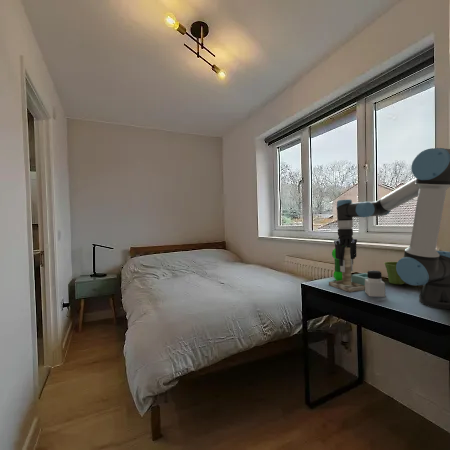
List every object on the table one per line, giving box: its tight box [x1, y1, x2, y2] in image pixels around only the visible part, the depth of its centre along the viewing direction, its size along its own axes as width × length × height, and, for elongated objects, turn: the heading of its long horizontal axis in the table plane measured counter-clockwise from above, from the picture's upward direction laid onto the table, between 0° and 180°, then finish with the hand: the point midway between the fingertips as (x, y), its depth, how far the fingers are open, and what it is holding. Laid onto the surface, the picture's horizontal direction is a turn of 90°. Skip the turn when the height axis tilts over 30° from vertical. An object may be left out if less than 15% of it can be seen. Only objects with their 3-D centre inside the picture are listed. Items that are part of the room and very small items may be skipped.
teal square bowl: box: [351, 272, 368, 285], centre depth 150 cm, size 10×10×6 cm
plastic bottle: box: [331, 248, 342, 281], centre depth 161 cm, size 10×10×25 cm
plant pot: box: [383, 261, 406, 285], centre depth 152 cm, size 12×12×11 cm
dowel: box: [342, 247, 352, 285], centre depth 148 cm, size 4×4×20 cm
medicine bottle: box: [364, 269, 386, 298], centre depth 134 cm, size 7×7×12 cm
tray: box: [328, 280, 365, 293], centre depth 148 cm, size 16×11×2 cm
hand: (346, 271), depth 148 cm, fingers closed on dowel, 4 cm apart
